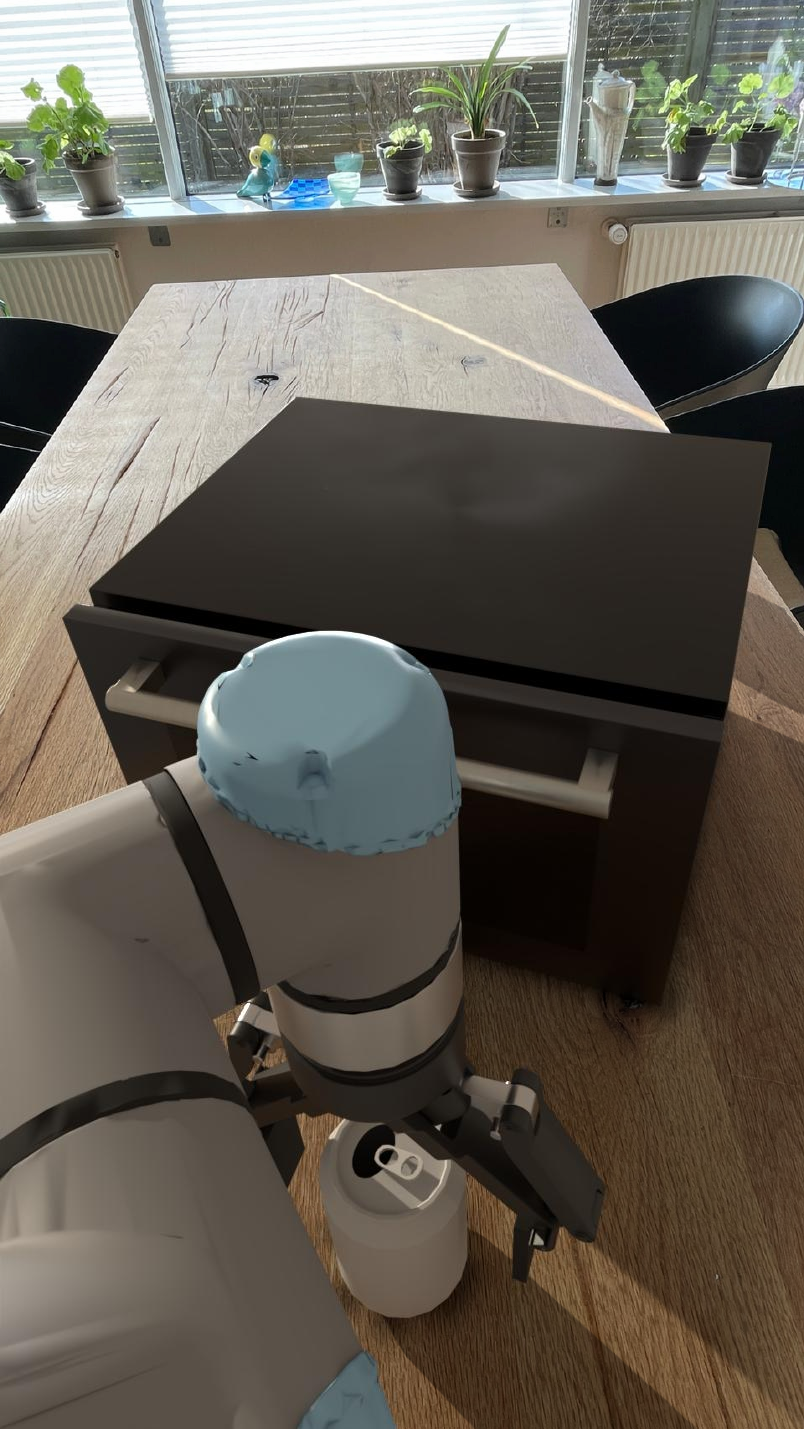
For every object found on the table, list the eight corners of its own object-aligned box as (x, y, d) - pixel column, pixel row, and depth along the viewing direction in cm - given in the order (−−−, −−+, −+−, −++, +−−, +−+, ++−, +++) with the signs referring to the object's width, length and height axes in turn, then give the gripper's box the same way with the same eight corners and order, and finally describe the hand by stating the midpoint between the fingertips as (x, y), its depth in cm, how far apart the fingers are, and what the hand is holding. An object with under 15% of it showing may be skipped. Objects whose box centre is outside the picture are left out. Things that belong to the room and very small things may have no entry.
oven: (665, 985, 67) (729, 701, 50) (171, 854, 78) (87, 589, 61) (715, 703, 89) (771, 442, 72) (326, 634, 101) (295, 396, 84)
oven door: (652, 1056, 63) (713, 795, 45) (135, 907, 74) (24, 654, 57) (665, 986, 66) (725, 720, 49) (169, 855, 78) (75, 602, 61)
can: (380, 1160, 58) (365, 1058, 51) (490, 1222, 55) (492, 1124, 48) (312, 1277, 54) (284, 1185, 46) (428, 1352, 51) (419, 1267, 43)
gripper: (707, 993, 36) (648, 1218, 50) (147, 848, 44) (231, 1079, 58) (680, 1186, 31) (622, 1377, 45) (49, 983, 38) (167, 1201, 52)
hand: (402, 1210), depth 51 cm, fingers open, 13 cm apart
